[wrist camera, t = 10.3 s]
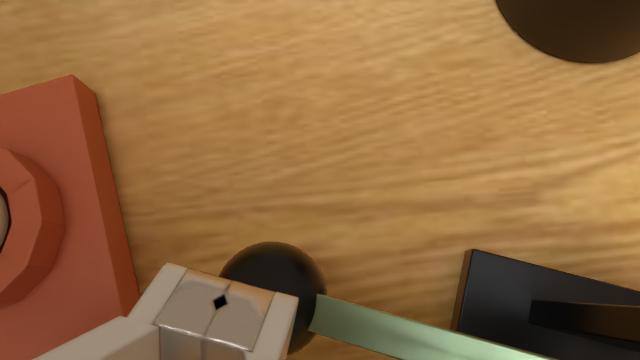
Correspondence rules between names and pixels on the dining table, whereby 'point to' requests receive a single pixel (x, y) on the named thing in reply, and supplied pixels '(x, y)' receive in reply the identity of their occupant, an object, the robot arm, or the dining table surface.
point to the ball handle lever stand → (546, 310)
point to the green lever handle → (354, 312)
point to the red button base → (58, 221)
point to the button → (3, 219)
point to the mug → (578, 27)
